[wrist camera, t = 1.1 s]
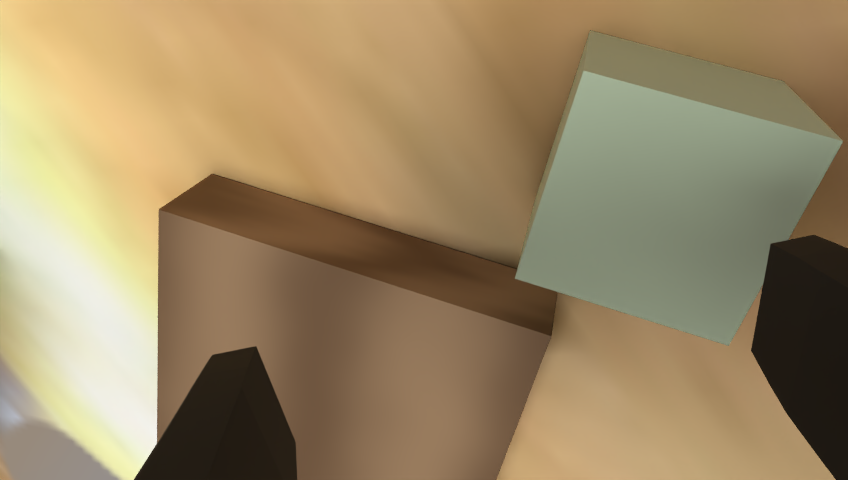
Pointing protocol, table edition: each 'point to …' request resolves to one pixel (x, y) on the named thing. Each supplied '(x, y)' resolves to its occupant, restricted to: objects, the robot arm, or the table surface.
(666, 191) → the sage block
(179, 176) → the table surface
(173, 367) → the walnut base
